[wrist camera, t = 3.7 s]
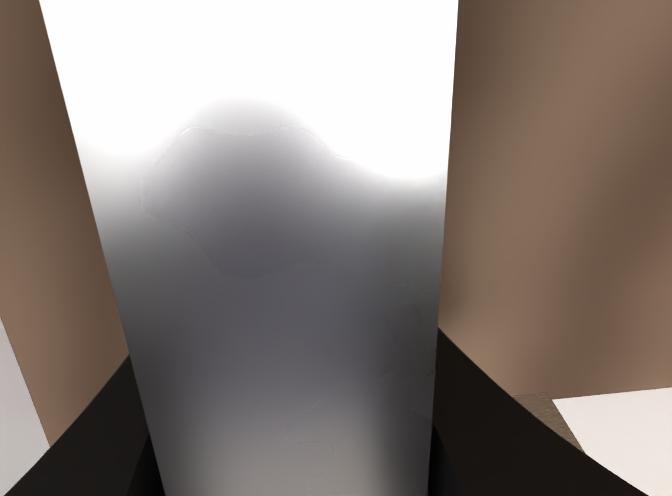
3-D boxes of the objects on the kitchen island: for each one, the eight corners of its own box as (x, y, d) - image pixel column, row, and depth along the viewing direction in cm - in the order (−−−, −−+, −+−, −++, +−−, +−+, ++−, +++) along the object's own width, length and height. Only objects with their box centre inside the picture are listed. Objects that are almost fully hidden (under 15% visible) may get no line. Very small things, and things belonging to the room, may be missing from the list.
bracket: (124, -192, 7) (-48, -343, 3) (655, -202, 7) (1129, -338, 3) (242, 516, 13) (240, 788, 9) (530, 477, 13) (650, 716, 9)
